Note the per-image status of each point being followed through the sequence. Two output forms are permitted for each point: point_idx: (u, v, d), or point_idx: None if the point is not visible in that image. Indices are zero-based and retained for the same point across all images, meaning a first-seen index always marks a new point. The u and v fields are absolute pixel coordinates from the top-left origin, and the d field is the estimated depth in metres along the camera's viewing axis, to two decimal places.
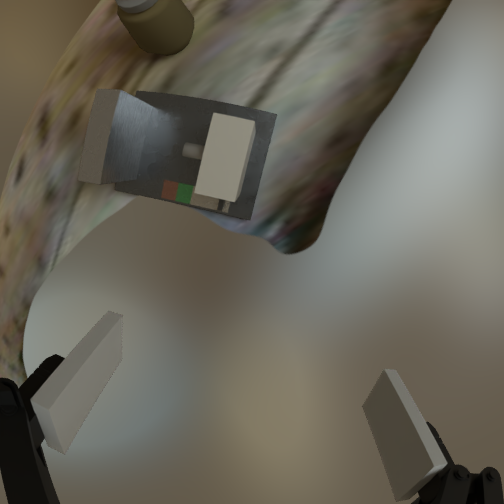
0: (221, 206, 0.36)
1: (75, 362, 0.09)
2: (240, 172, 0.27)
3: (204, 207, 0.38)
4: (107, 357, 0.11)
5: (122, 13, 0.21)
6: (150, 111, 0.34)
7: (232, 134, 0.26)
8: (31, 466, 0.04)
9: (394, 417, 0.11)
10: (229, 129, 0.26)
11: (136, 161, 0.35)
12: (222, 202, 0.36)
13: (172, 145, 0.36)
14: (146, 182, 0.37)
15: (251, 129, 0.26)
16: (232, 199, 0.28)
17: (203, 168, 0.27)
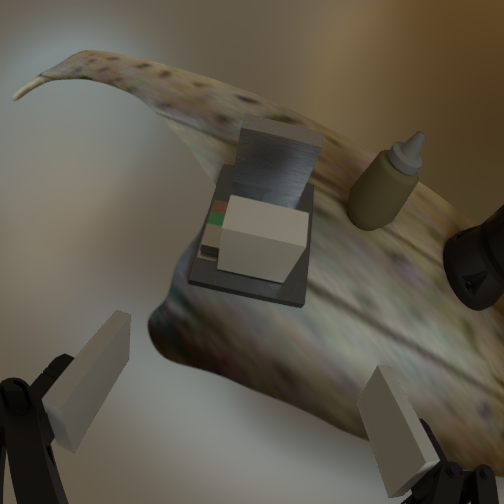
0: (205, 248, 0.35)
1: (85, 361, 0.09)
2: (252, 233, 0.28)
3: (203, 236, 0.37)
4: (116, 356, 0.11)
5: (386, 151, 0.35)
6: (295, 194, 0.42)
7: (290, 227, 0.28)
8: (41, 466, 0.04)
9: (387, 413, 0.11)
10: (294, 225, 0.29)
11: (249, 179, 0.41)
12: (209, 249, 0.35)
13: None
14: (229, 188, 0.41)
15: (297, 243, 0.28)
16: (224, 225, 0.27)
17: (254, 203, 0.29)
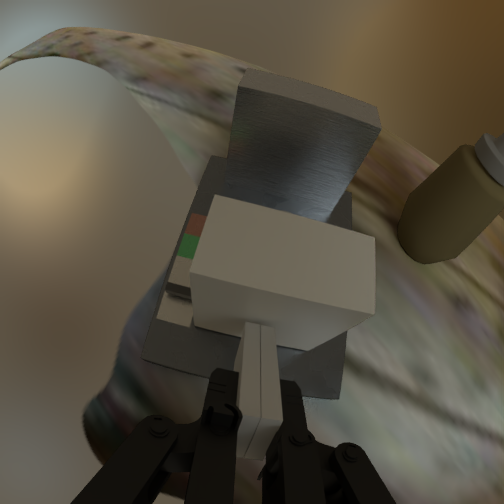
0: (173, 289, 0.20)
1: (252, 371, 0.11)
2: (261, 286, 0.12)
3: (168, 279, 0.21)
4: None
5: (469, 146, 0.19)
6: (325, 206, 0.26)
7: (342, 269, 0.13)
8: (227, 486, 0.06)
9: None
10: (350, 264, 0.13)
11: (252, 179, 0.25)
12: (180, 291, 0.20)
13: None
14: (218, 194, 0.25)
15: (357, 308, 0.12)
16: (196, 267, 0.12)
17: (266, 213, 0.13)
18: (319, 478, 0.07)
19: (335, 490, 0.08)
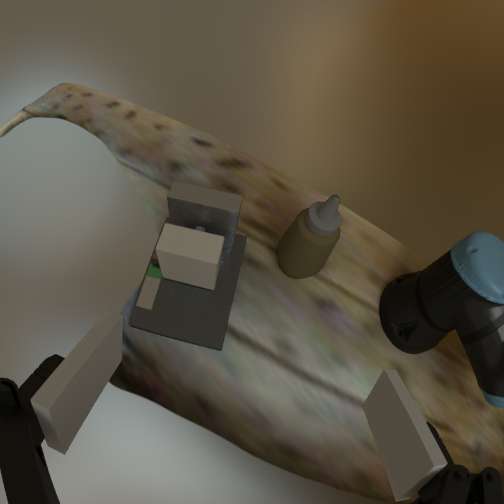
0: (154, 261, 0.44)
1: (75, 362, 0.09)
2: (177, 253, 0.36)
3: (142, 287, 0.43)
4: (107, 357, 0.11)
5: (307, 210, 0.41)
6: (227, 246, 0.48)
7: (207, 248, 0.37)
8: (31, 466, 0.04)
9: (394, 417, 0.11)
10: (210, 246, 0.37)
11: None
12: (157, 262, 0.44)
13: None
14: None
15: (210, 261, 0.36)
16: (157, 247, 0.36)
17: (182, 229, 0.38)
18: None
19: None
